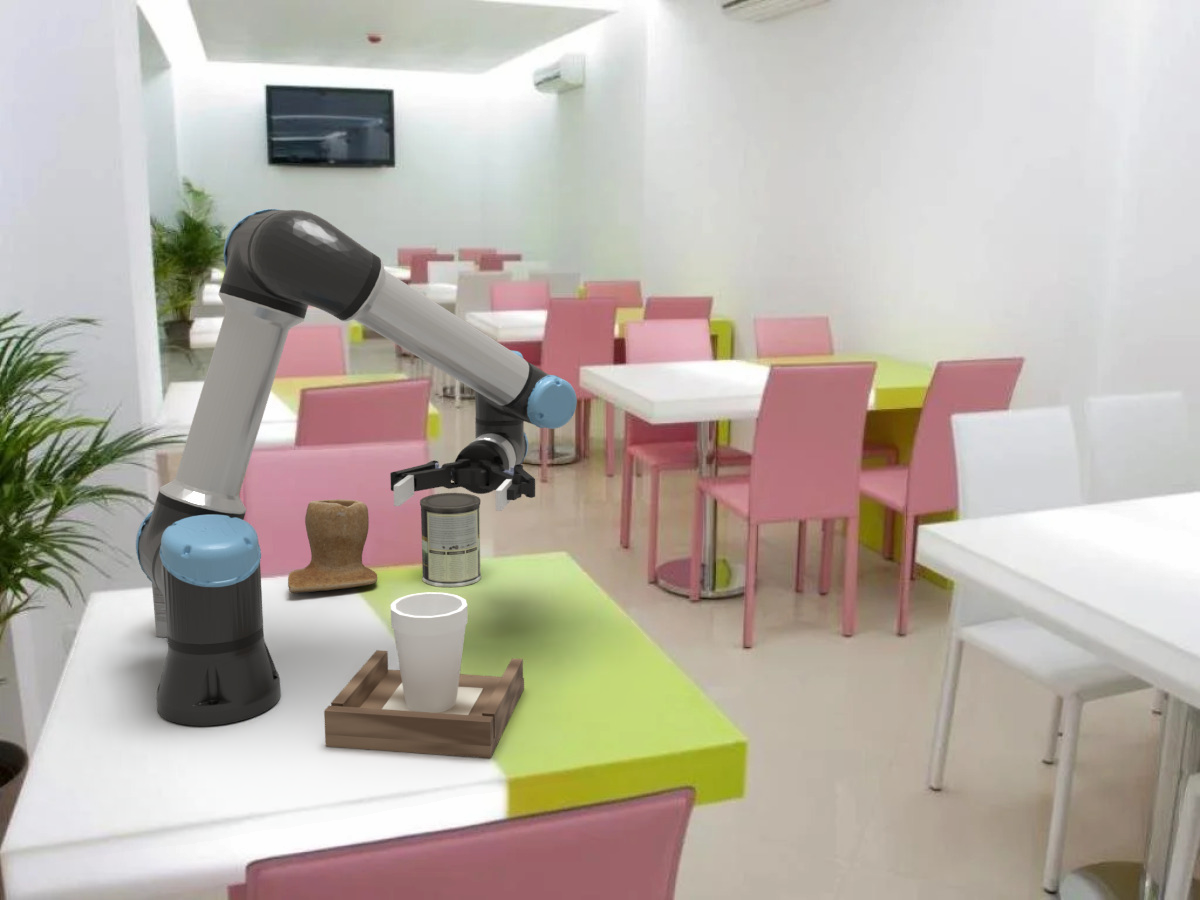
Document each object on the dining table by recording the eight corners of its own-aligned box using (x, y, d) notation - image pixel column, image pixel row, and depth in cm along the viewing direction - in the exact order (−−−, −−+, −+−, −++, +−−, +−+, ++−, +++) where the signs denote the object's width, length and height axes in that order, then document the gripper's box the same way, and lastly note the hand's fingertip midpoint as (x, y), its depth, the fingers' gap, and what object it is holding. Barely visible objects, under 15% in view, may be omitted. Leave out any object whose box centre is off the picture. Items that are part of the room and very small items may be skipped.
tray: (379, 679, 153) (378, 648, 152) (524, 688, 151) (524, 656, 150) (325, 746, 134) (324, 710, 133) (490, 758, 131) (490, 722, 130)
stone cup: (369, 571, 200) (366, 488, 197) (382, 591, 189) (380, 505, 186) (281, 580, 194) (277, 495, 191) (289, 602, 183) (285, 512, 180)
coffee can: (409, 578, 196) (407, 499, 193) (456, 565, 203) (455, 489, 201) (446, 591, 189) (445, 510, 186) (493, 578, 196) (492, 500, 194)
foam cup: (380, 699, 143) (377, 601, 140) (444, 681, 148) (442, 587, 146) (416, 725, 136) (414, 623, 133) (482, 706, 141) (481, 607, 138)
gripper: (568, 492, 166) (541, 530, 146) (404, 484, 169) (355, 521, 149) (568, 442, 165) (541, 474, 144) (403, 435, 168) (353, 466, 147)
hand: (447, 498), depth 146 cm, fingers open, 13 cm apart
